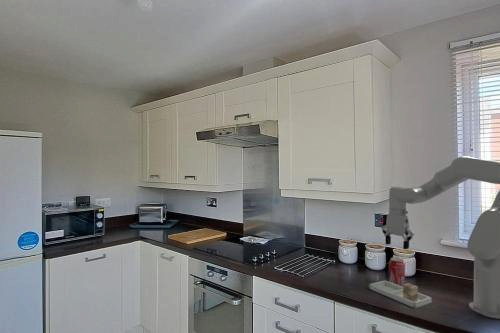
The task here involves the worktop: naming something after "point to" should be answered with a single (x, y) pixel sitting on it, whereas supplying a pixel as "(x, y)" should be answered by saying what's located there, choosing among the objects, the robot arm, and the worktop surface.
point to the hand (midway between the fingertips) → (396, 246)
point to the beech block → (410, 292)
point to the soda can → (396, 271)
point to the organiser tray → (398, 293)
